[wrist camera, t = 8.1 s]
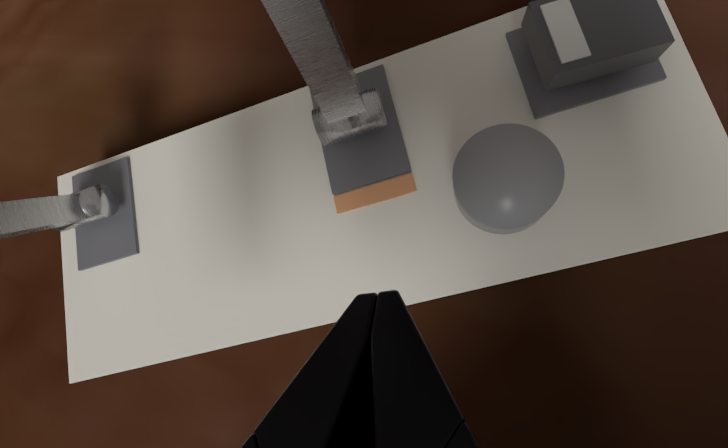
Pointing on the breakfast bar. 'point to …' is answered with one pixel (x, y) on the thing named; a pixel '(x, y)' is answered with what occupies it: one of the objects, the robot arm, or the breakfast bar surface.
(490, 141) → the push button
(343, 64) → the copper ball joystick
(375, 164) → the control panel
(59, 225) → the lever
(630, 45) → the block
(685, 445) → the breakfast bar surface
